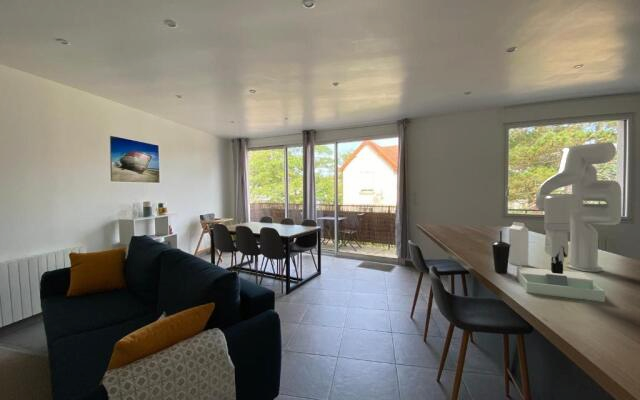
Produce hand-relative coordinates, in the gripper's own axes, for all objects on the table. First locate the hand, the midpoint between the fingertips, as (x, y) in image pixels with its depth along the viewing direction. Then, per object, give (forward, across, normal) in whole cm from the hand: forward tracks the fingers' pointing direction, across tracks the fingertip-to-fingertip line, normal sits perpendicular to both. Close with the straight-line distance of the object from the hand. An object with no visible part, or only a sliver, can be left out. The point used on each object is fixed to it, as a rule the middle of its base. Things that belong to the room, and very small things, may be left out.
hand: (557, 272), depth 104 cm
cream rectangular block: (+7, -6, 0) cm, 9 cm away
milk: (+7, -35, -6) cm, 36 cm away
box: (+7, +4, 0) cm, 8 cm away
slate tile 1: (+3, 0, 0) cm, 3 cm away
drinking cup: (+7, -17, -16) cm, 25 cm away
